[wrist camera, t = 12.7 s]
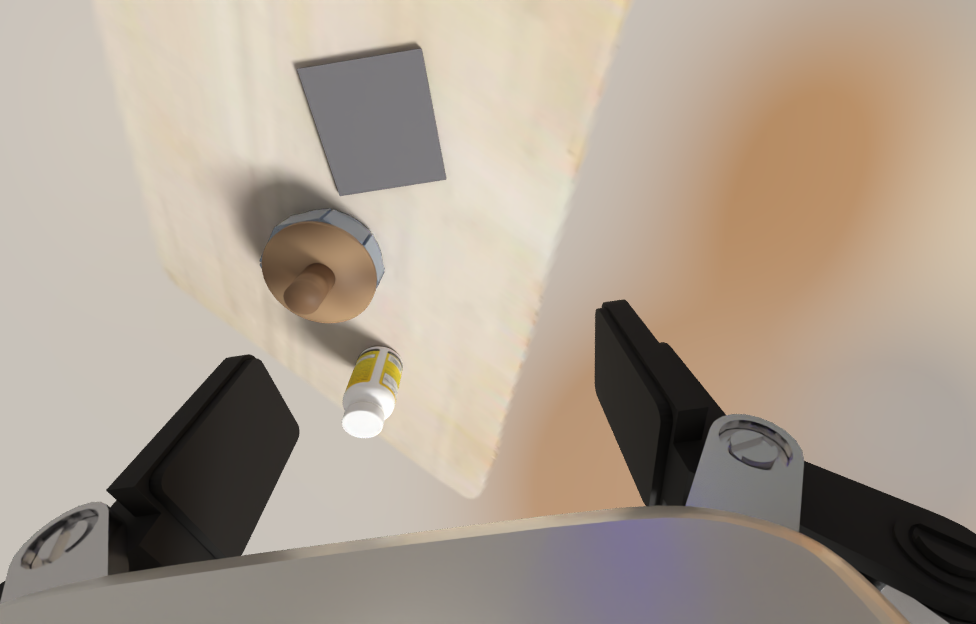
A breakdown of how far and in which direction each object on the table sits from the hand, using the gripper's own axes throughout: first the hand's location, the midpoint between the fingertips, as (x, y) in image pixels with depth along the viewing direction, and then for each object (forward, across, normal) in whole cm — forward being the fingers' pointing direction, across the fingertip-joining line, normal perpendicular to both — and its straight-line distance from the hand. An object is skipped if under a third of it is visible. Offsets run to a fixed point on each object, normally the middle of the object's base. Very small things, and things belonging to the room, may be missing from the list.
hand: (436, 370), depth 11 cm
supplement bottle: (+28, +13, +20) cm, 37 cm away
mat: (+28, +6, -5) cm, 29 cm away
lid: (+24, +14, +6) cm, 29 cm away
